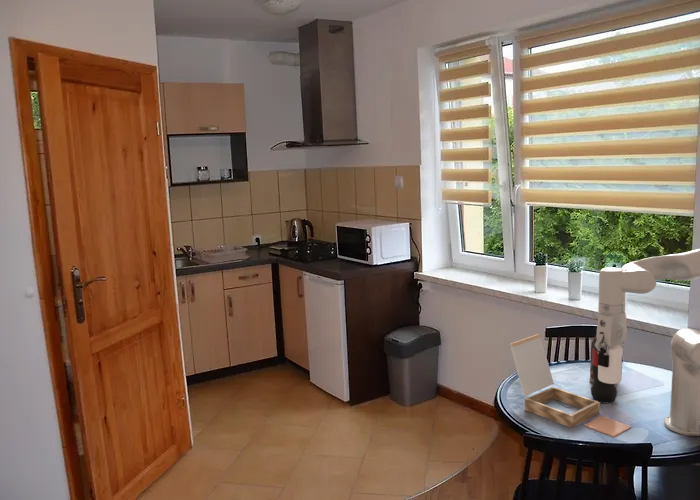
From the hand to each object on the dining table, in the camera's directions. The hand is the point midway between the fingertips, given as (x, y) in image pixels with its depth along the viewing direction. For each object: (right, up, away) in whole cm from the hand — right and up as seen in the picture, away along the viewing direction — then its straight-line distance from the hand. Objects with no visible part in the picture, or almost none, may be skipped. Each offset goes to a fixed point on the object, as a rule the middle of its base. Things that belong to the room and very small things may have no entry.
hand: (610, 362), depth 188 cm
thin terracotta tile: (+1, -21, +4) cm, 21 cm away
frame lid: (-17, -5, +22) cm, 29 cm away
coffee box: (+14, -15, +40) cm, 45 cm away
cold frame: (-10, -19, +16) cm, 27 cm away
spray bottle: (0, -6, +1) cm, 6 cm away
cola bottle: (+8, -18, +24) cm, 31 cm away
